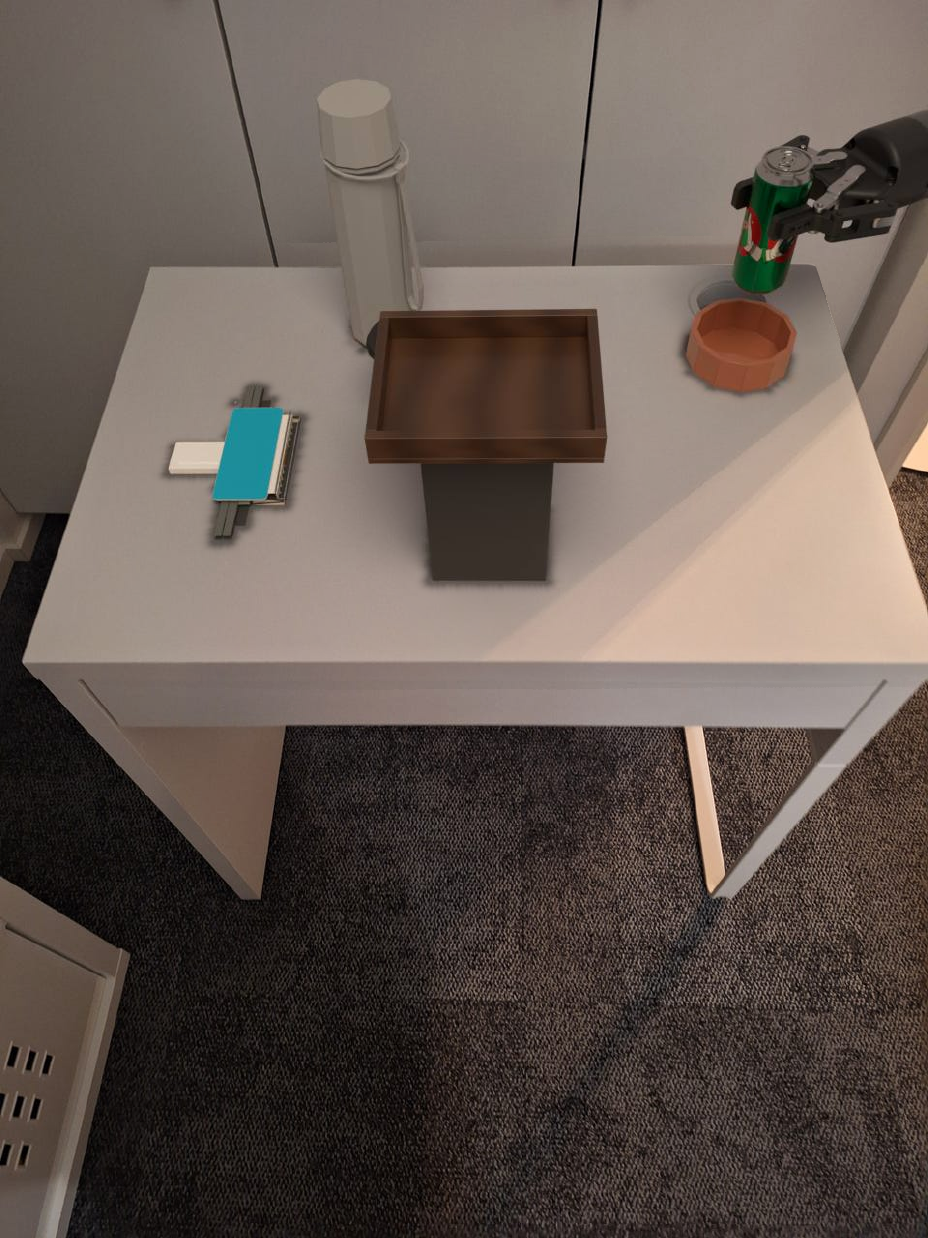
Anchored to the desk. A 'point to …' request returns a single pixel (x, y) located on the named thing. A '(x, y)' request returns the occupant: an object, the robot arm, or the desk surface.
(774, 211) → the soda can
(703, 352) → the bowl
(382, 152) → the water bottle
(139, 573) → the desk surface
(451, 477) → the stand
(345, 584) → the desk surface
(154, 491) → the desk surface
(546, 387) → the tray
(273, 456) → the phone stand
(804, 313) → the desk surface
